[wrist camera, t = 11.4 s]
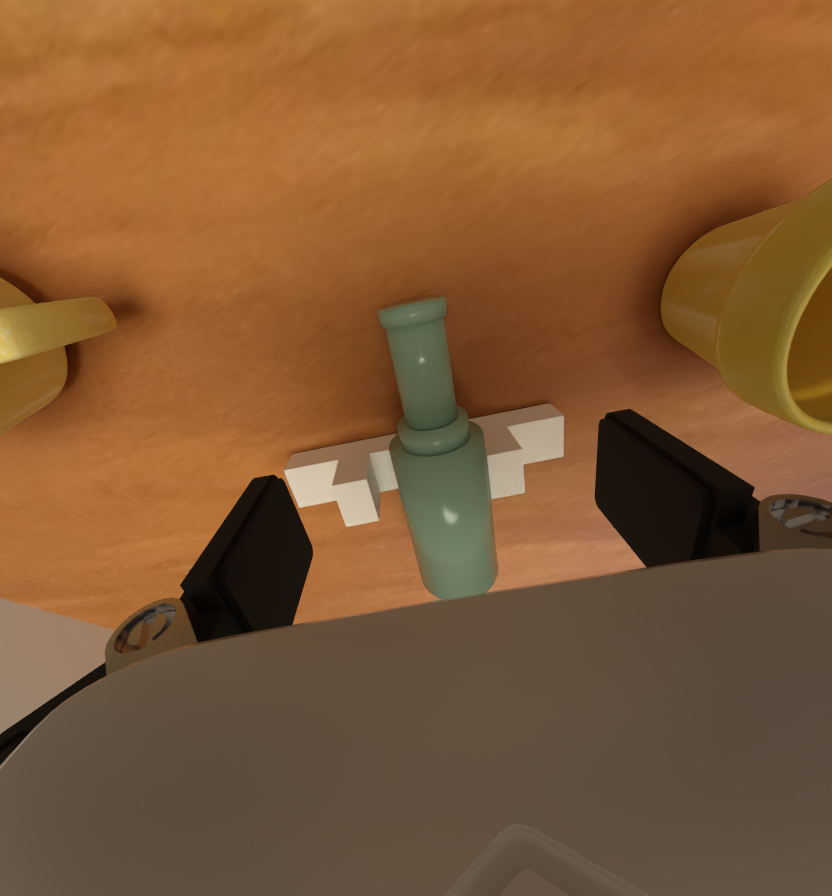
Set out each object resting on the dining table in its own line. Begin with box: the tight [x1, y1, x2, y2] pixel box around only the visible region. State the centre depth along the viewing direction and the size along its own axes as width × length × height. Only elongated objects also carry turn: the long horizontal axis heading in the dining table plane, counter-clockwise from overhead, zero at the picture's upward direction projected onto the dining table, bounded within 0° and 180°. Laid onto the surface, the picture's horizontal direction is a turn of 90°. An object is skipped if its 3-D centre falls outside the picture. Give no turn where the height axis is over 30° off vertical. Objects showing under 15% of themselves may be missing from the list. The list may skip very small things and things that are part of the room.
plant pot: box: [660, 179, 832, 434], centre depth 17 cm, size 10×10×10 cm
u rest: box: [284, 403, 564, 527], centre depth 23 cm, size 18×3×5 cm, turn 101°
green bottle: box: [376, 295, 498, 600], centre depth 20 cm, size 5×5×17 cm
